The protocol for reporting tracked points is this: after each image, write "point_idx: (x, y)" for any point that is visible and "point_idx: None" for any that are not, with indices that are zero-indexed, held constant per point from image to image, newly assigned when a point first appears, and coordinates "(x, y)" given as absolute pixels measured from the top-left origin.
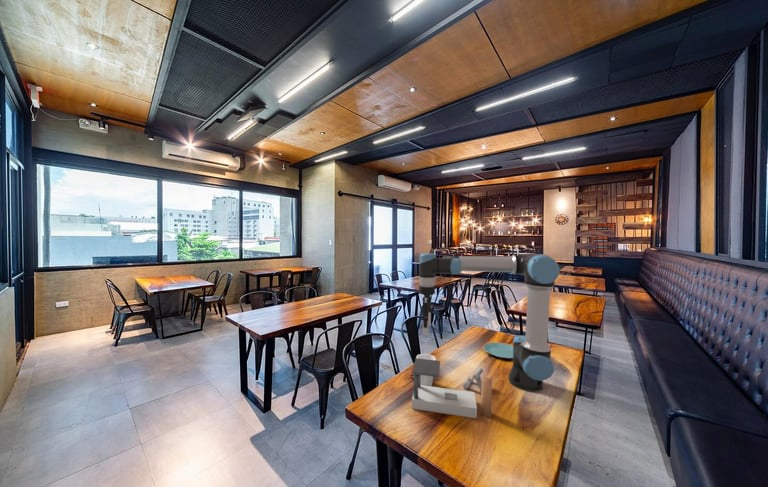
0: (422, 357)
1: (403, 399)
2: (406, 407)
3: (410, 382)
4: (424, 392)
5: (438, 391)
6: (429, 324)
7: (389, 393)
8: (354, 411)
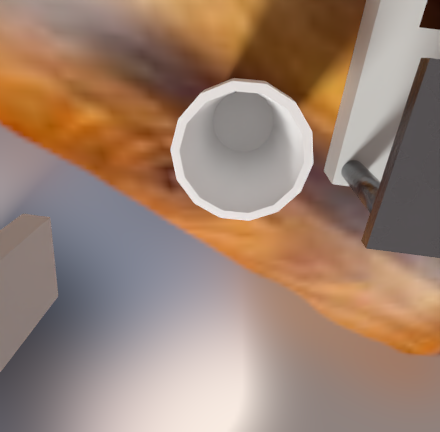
0: (191, 172)
1: None
2: None
3: None
4: None
5: (406, 66)
6: (43, 243)
7: (328, 266)
8: (432, 354)
